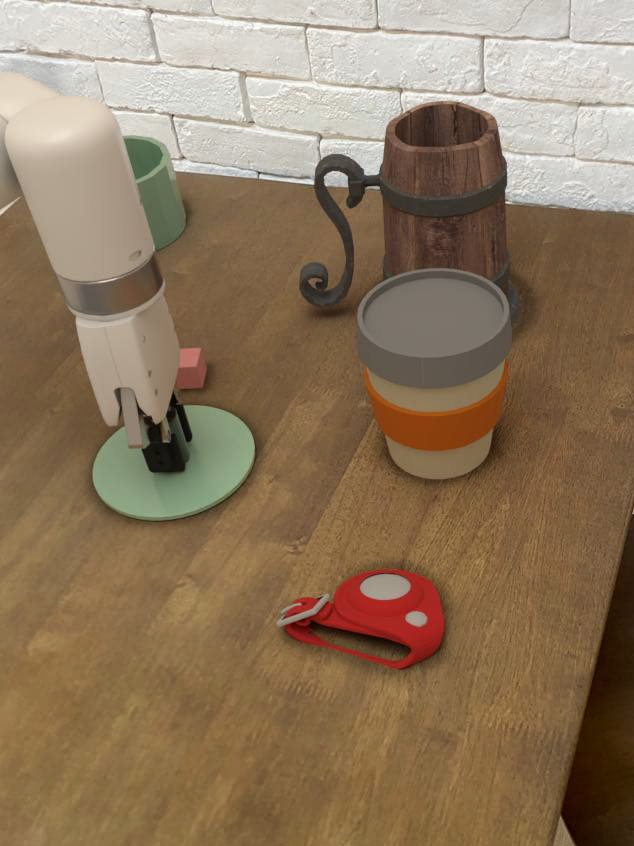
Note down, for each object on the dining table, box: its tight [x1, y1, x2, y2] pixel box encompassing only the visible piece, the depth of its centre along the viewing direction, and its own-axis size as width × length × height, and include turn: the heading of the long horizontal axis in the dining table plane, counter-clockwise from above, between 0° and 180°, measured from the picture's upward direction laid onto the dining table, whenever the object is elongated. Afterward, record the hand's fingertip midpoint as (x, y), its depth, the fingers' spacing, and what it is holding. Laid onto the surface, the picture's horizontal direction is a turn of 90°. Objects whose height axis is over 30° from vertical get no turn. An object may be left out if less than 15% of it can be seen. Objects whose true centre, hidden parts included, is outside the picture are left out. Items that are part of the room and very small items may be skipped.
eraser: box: [176, 347, 208, 390], centre depth 92 cm, size 6×3×4 cm, turn 90°
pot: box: [122, 134, 187, 252], centre depth 111 cm, size 14×14×8 cm
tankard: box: [298, 100, 522, 329], centre depth 91 cm, size 24×17×20 cm
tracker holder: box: [275, 569, 445, 670], centre depth 70 cm, size 12×4×10 cm
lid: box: [92, 404, 257, 522], centre depth 83 cm, size 15×15×6 cm
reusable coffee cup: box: [356, 268, 513, 480], centre depth 79 cm, size 13×13×15 cm
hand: (171, 453), depth 84 cm, fingers closed on lid, 3 cm apart
